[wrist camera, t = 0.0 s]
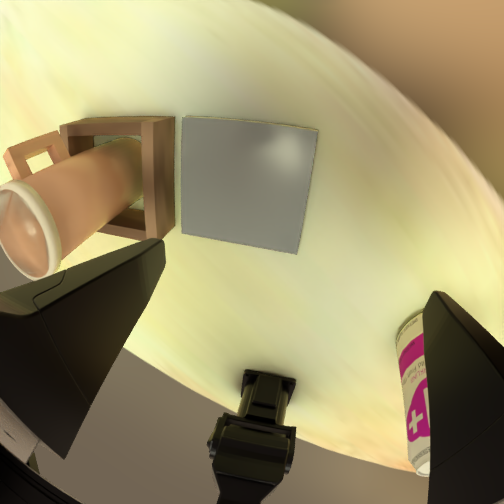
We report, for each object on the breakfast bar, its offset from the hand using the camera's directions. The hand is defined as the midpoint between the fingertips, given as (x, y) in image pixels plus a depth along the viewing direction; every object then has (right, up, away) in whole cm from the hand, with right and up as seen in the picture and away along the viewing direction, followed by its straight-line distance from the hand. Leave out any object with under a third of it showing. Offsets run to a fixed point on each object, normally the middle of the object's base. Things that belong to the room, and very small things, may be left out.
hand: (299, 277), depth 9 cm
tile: (-2, +6, +14) cm, 16 cm away
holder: (-13, +8, +16) cm, 22 cm away
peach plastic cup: (-13, +9, +15) cm, 22 cm away
